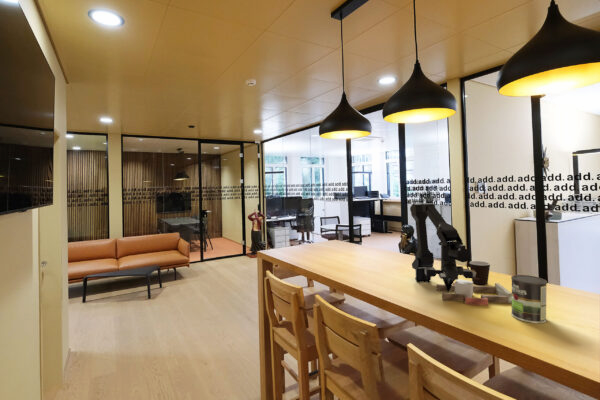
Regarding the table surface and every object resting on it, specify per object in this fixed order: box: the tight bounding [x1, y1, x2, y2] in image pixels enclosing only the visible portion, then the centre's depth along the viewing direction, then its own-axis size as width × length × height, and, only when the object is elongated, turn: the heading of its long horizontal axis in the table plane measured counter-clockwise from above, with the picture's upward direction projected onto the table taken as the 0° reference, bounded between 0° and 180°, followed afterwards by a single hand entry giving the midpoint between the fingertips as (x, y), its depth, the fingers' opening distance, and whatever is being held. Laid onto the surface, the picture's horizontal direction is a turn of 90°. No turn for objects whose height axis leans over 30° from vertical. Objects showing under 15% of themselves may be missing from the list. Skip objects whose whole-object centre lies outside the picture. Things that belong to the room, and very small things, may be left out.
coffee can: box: [510, 274, 548, 324], centre depth 110 cm, size 10×10×14 cm
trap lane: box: [435, 282, 512, 306], centre depth 133 cm, size 26×20×4 cm
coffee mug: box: [466, 260, 491, 286], centre depth 150 cm, size 12×9×10 cm
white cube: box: [454, 278, 474, 298], centre depth 134 cm, size 6×6×6 cm
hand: (448, 291), depth 135 cm, fingers closed
